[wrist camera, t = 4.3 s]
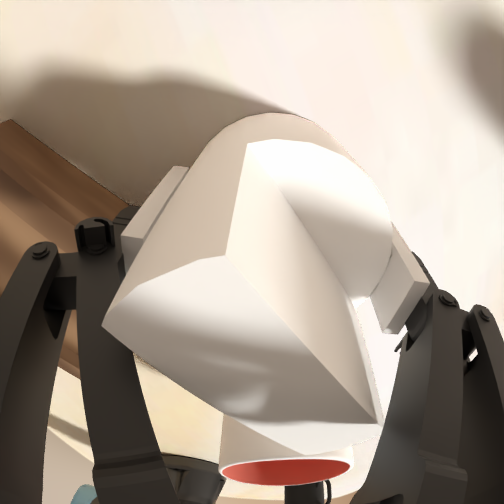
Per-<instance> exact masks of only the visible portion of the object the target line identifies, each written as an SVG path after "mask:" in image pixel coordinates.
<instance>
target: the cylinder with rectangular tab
mask: <svg viewBox="0 0 504 504" xmlns="http://www.w3.org/2000/svg"><path fill="white" fill-rule="evenodd" d="M392 235H393V227H392V223H391V219H390V215H389V211H388V208H387V204H386V201H385V199H384V198H383V196H382V195H381V193H380V192H379V190H378V189H377V187H376V185H375V184H374V182H373V181H372V179H371V178H370V177H369V175H368V174H367V173H366V172H365V171H364V170H363V168H362V167H361V166H360V165H359V164H358V163H357V162H356V160H355V159H354V158H353V157H352V156H351V155H350V154H349V153H348V152H347V150H346V149H345V148H344V147H343V146H342V145H341V144H340V143H339V142H338V141H337V140H336V139H335V138H334V137H333V136H332V135H331V134H330V133H328V132H327V131H326V130H324V129H323V128H322V127H320V126H319V125H318V124H316V123H314V122H312V121H309V120H307V119H304V118H301V117H299V116H296V115H293V114H283V113H271V112H269V113H264V114H258V115H253V116H247V117H245V118H243V119H241V120H238V121H236V122H234V123H232V124H230V125H228V126H226V127H225V128H224V129H223V130H221V131H220V132H219V133H218V134H217V135H216V136H215V137H214V138H213V139H212V140H210V141H209V142H208V144H207V145H206V147H205V148H204V150H203V151H202V152H201V154H200V155H199V157H198V158H197V160H196V161H195V163H194V164H193V166H192V167H191V169H190V170H189V172H188V173H187V175H186V176H185V178H184V179H183V181H182V182H181V184H180V185H179V187H178V188H177V190H176V191H175V193H174V195H173V196H172V198H171V199H170V201H169V202H168V204H167V206H166V207H165V209H164V210H163V212H162V214H161V215H160V217H159V219H158V220H157V222H156V224H155V225H154V227H153V229H152V230H151V232H150V234H149V235H148V237H147V239H146V241H145V242H144V244H143V246H142V247H141V249H140V251H139V253H138V254H137V256H136V258H135V260H134V262H133V263H132V265H131V267H130V269H129V271H128V272H127V274H126V276H125V278H124V280H123V282H122V284H121V286H120V287H119V289H118V291H117V293H116V295H115V297H114V299H113V301H112V303H111V305H110V307H109V309H108V311H107V313H106V315H105V317H104V320H103V323H102V325H101V326H102V327H103V328H104V329H106V330H107V331H108V332H109V333H110V334H112V335H113V336H114V337H115V338H116V339H118V340H119V341H120V342H121V343H123V344H124V345H125V346H126V347H128V348H129V349H130V350H132V351H133V352H134V353H135V354H137V355H138V356H139V357H141V358H142V359H143V360H145V361H146V362H147V363H149V364H150V365H151V366H153V367H154V368H155V369H157V370H158V371H160V372H161V373H162V374H164V375H165V376H167V377H168V378H170V379H171V380H172V381H174V382H175V383H177V384H178V385H180V386H181V387H183V388H184V389H186V390H187V391H189V392H190V393H192V394H193V395H195V396H197V397H198V398H200V399H201V400H203V401H204V402H206V403H208V404H209V405H211V406H213V407H214V408H216V409H218V410H219V411H221V412H223V413H224V414H226V415H228V416H229V417H231V418H233V419H235V420H236V421H238V422H240V423H242V424H244V425H245V426H247V427H249V428H251V429H253V430H255V431H256V432H258V433H260V434H262V435H264V436H266V437H268V438H270V439H272V440H274V441H276V442H278V443H280V444H282V445H284V446H286V447H288V448H290V449H293V450H295V451H297V452H299V453H301V454H303V455H314V454H320V453H325V452H330V451H334V450H339V449H343V448H347V447H351V446H354V445H357V444H359V443H362V442H365V441H368V440H371V439H373V438H376V437H379V436H381V433H382V430H383V426H384V418H383V413H382V408H381V404H380V399H379V395H378V390H377V386H376V382H375V378H374V373H373V369H372V365H371V361H370V358H369V354H368V350H367V346H366V342H365V339H364V335H363V331H362V328H361V324H360V321H359V317H358V314H357V310H356V308H357V307H358V306H359V305H360V304H362V303H363V302H364V301H365V300H366V299H367V298H368V297H369V296H370V295H371V293H372V292H373V290H374V289H375V288H376V286H377V285H378V283H379V282H380V280H381V278H382V276H383V274H384V272H385V270H386V267H387V265H388V262H389V259H390V256H391V252H392Z"/></svg>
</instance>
